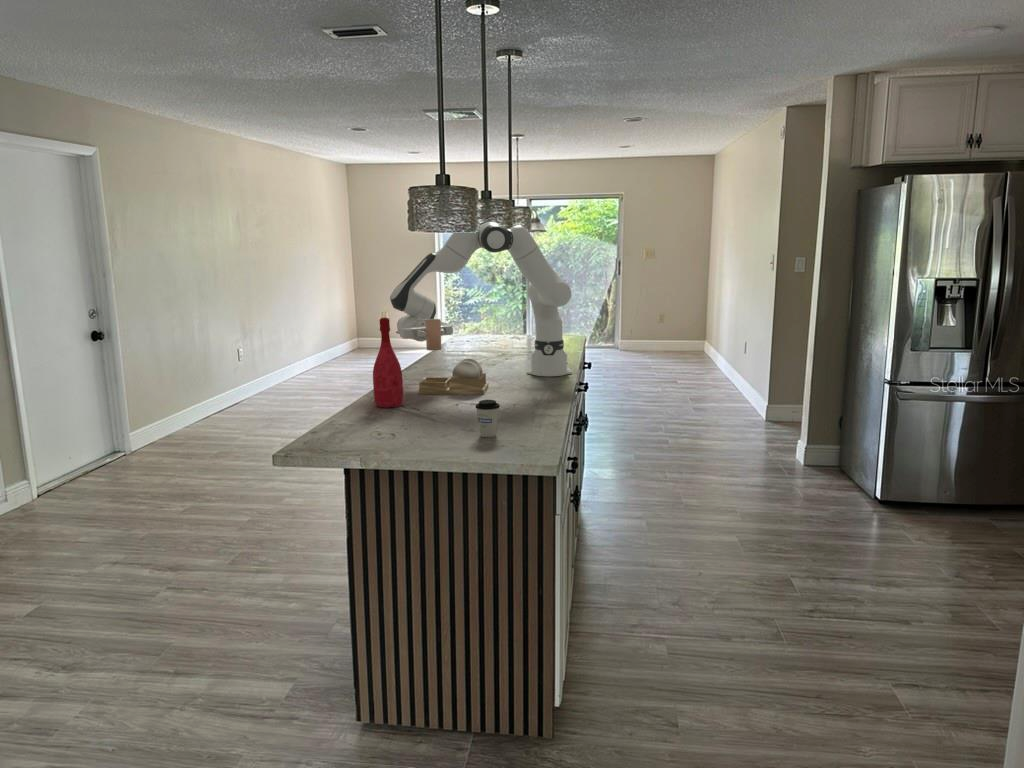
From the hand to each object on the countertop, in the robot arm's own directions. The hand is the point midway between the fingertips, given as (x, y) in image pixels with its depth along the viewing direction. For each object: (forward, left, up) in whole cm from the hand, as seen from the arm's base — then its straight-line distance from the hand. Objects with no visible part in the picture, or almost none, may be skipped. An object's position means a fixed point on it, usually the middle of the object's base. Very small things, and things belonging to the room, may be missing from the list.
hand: (434, 333), depth 252 cm
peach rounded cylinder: (-1, -1, -6) cm, 6 cm away
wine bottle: (+24, -12, -22) cm, 34 cm away
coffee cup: (+60, +27, -22) cm, 69 cm away
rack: (-1, +6, -21) cm, 22 cm away
